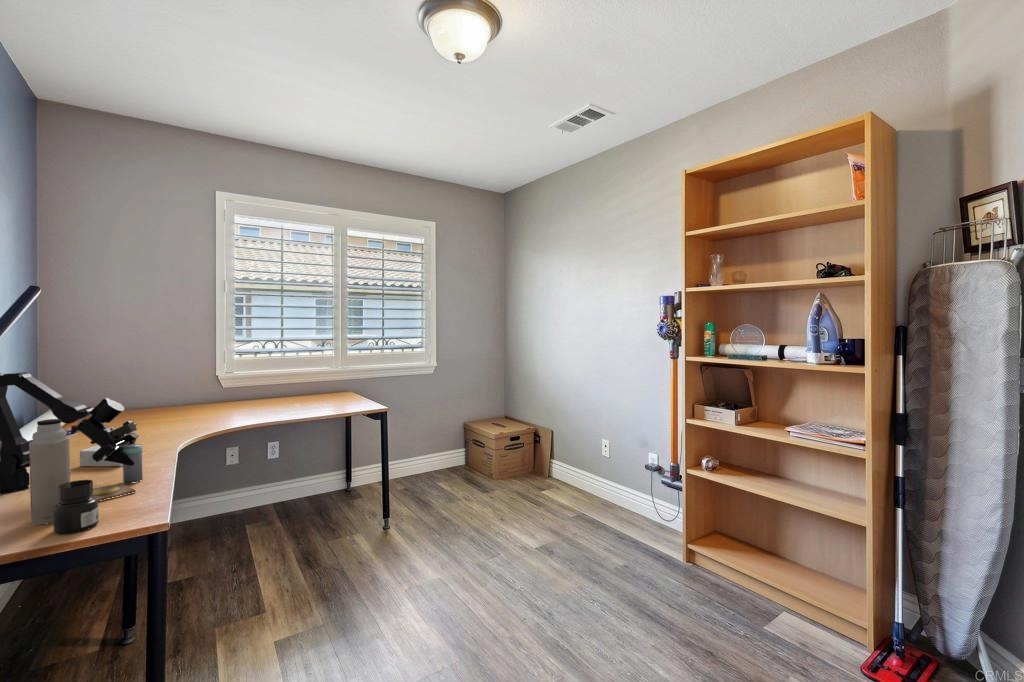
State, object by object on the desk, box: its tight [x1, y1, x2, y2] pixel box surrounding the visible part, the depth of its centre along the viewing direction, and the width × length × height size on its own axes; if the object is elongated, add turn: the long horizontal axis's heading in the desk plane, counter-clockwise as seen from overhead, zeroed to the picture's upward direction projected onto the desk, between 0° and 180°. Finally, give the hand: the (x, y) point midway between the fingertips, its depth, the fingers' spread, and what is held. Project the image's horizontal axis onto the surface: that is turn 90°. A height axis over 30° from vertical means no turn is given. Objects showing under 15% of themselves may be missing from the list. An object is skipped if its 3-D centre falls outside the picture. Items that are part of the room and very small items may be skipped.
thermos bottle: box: [29, 418, 71, 525], centre depth 131 cm, size 8×8×28 cm
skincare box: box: [79, 444, 123, 467], centre depth 182 cm, size 8×7×16 cm
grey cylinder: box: [122, 443, 143, 484], centre depth 162 cm, size 5×5×12 cm
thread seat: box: [92, 482, 136, 501], centre depth 150 cm, size 12×12×2 cm
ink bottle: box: [53, 479, 100, 535], centre depth 126 cm, size 10×9×12 cm
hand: (137, 462), depth 163 cm, fingers closed on grey cylinder, 5 cm apart
